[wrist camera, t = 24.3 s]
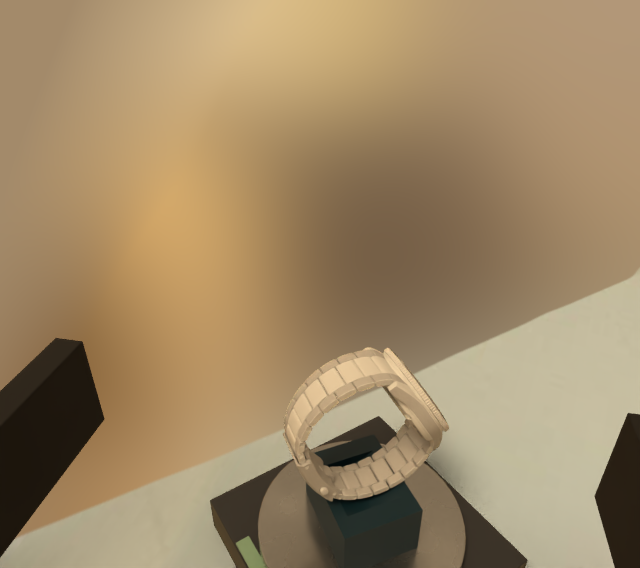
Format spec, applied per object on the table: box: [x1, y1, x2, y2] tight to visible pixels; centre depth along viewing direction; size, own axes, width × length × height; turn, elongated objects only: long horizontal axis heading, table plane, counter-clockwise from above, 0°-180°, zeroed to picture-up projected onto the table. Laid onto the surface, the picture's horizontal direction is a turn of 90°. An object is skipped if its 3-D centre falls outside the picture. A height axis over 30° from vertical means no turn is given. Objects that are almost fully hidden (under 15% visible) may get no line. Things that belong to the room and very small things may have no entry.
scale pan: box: [258, 441, 466, 568], centre depth 30 cm, size 12×12×1 cm
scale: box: [210, 416, 527, 568], centre depth 31 cm, size 13×13×2 cm
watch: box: [283, 348, 449, 568], centre depth 27 cm, size 6×8×11 cm
